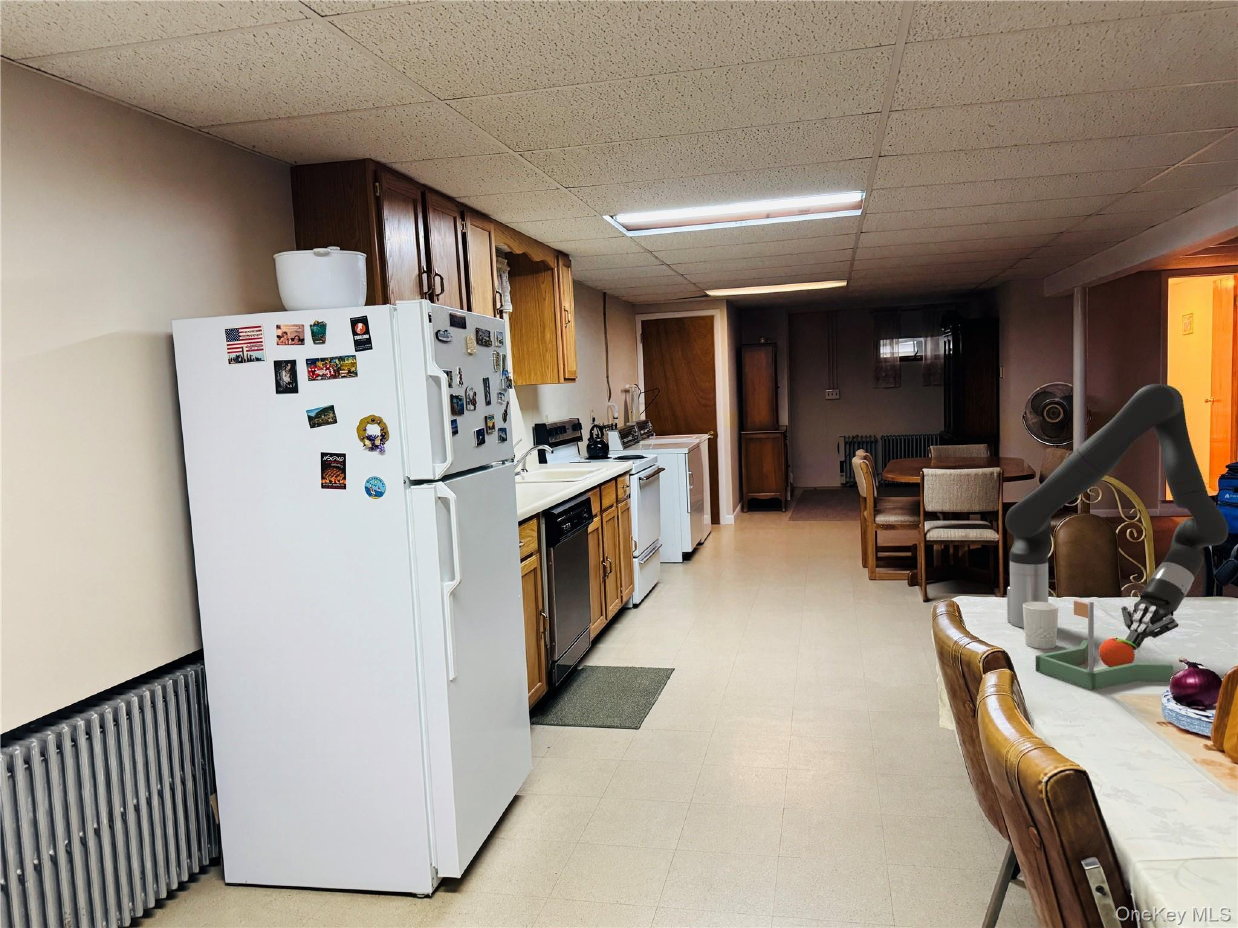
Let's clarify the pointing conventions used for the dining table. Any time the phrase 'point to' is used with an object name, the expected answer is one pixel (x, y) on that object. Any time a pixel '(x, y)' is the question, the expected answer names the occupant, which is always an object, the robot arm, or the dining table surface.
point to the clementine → (1116, 652)
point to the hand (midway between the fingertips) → (1129, 647)
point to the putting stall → (1064, 660)
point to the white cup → (1040, 624)
